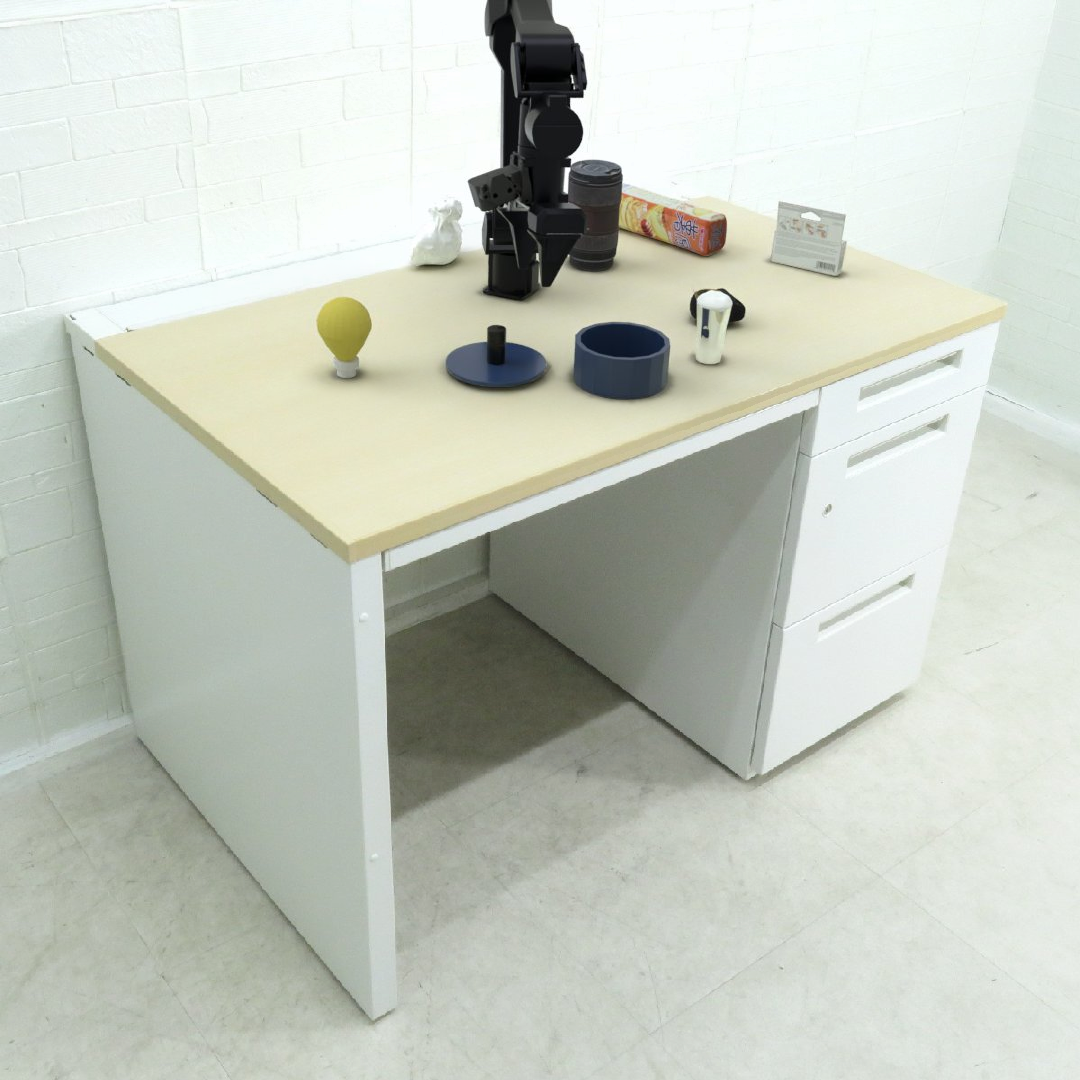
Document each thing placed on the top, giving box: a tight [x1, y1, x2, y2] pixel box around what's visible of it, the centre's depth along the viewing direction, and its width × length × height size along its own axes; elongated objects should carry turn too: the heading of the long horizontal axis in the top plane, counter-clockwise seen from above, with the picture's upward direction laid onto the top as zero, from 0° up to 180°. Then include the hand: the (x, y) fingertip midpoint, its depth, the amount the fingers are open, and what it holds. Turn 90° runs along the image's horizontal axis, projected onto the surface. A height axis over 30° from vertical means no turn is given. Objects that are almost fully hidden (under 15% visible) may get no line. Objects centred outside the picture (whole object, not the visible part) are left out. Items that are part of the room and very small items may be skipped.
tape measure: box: [689, 287, 747, 325], centre depth 180 cm, size 7×7×4 cm
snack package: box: [619, 182, 728, 257], centre depth 208 cm, size 21×7×7 cm, turn 47°
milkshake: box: [691, 286, 732, 365], centre depth 167 cm, size 4×5×10 cm
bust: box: [409, 194, 463, 267], centre depth 195 cm, size 12×8×11 cm
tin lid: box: [445, 324, 547, 388], centre depth 163 cm, size 13×13×6 cm
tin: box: [572, 321, 671, 400], centre depth 162 cm, size 12×12×5 cm
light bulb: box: [316, 296, 373, 379], centre depth 160 cm, size 7×7×10 cm
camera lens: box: [567, 159, 624, 272], centre depth 195 cm, size 8×8×15 cm
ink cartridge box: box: [770, 200, 848, 277], centre depth 198 cm, size 2×11×10 cm, turn 58°
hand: (534, 277), depth 158 cm, fingers open, 9 cm apart
